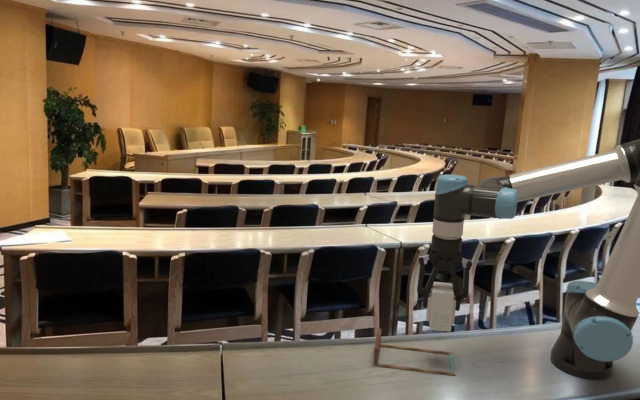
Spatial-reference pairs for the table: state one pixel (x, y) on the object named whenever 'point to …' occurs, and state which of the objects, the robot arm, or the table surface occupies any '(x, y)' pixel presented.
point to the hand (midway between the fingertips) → (439, 319)
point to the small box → (441, 306)
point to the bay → (378, 345)
